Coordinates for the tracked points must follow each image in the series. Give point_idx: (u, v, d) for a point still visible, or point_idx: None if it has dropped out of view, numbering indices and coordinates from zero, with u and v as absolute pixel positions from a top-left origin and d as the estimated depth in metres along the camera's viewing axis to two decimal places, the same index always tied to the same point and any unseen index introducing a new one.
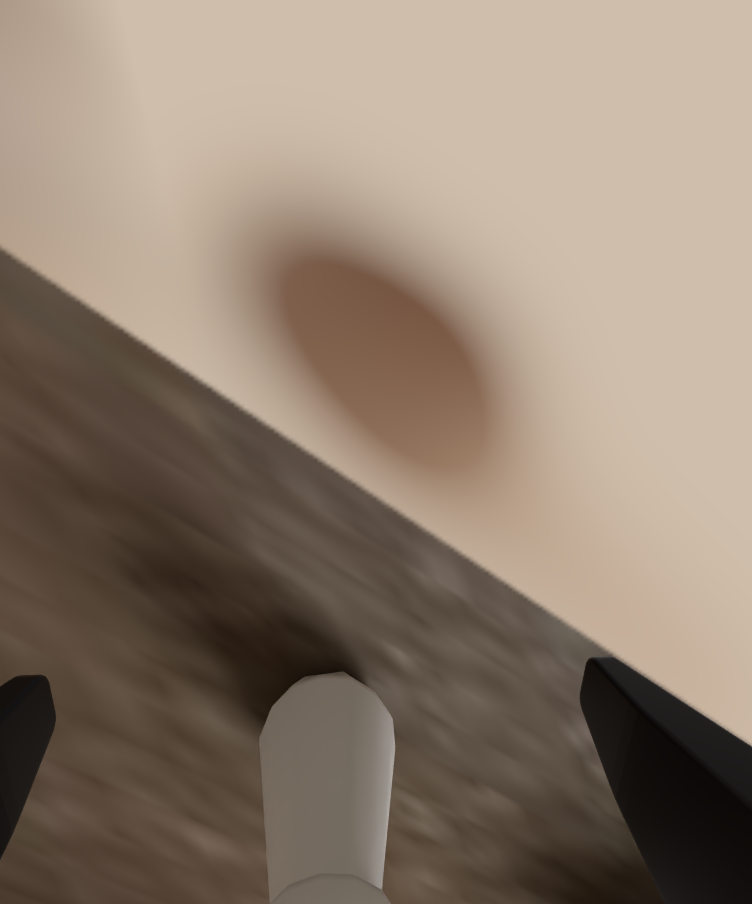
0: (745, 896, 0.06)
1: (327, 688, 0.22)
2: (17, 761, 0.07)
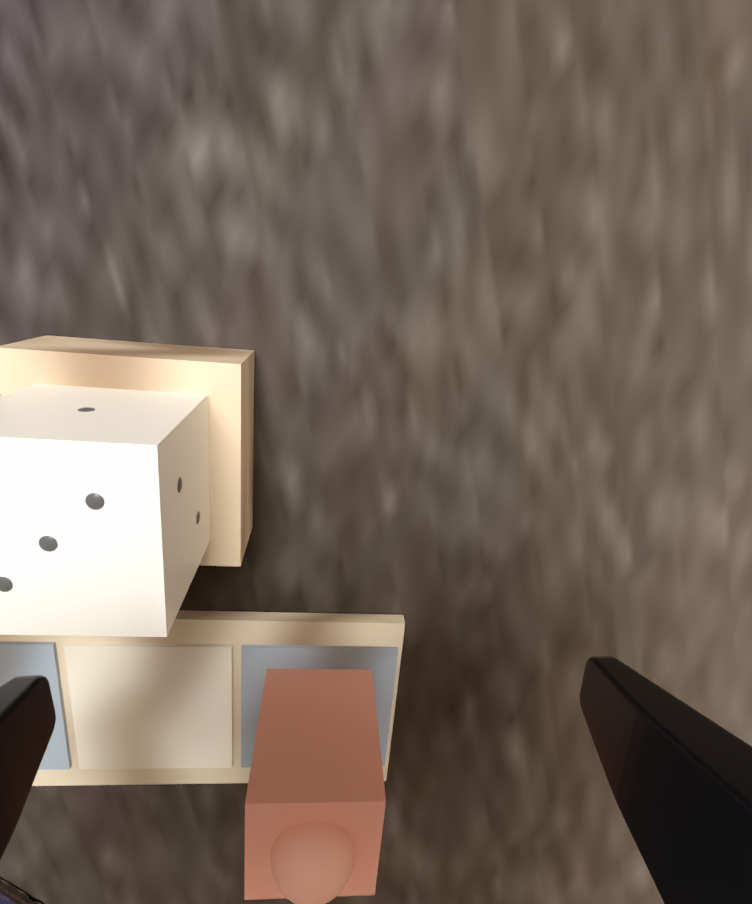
0: (745, 896, 0.06)
1: None
2: (17, 761, 0.07)
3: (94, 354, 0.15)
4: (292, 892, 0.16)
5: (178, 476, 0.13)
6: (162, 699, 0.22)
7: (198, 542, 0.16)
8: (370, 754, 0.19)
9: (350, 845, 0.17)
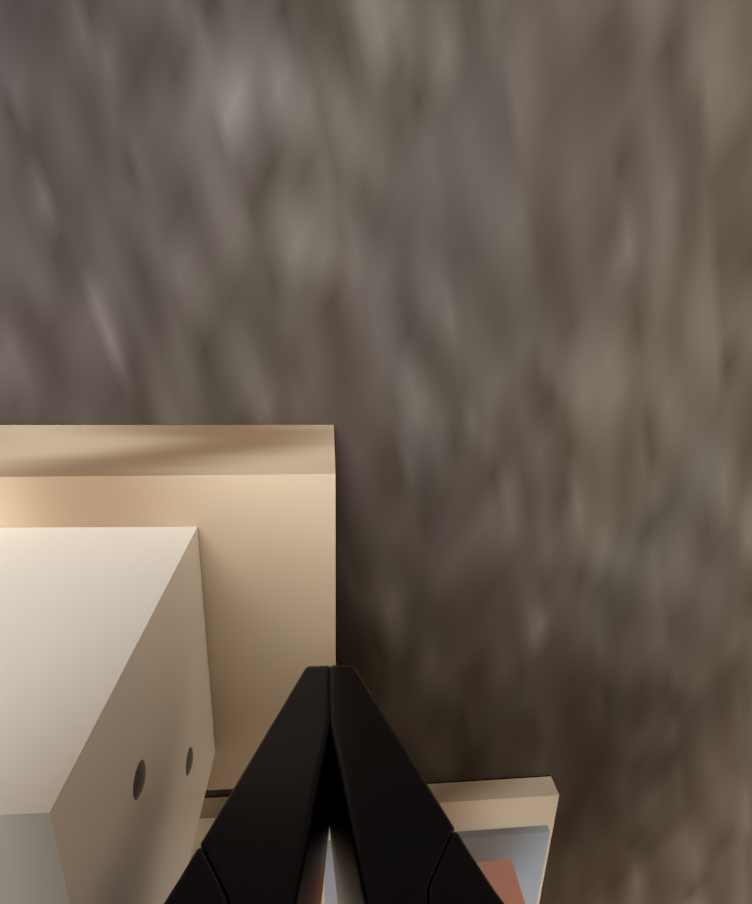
0: None
1: None
2: None
3: (72, 476, 0.08)
4: None
5: (134, 769, 0.06)
6: None
7: (192, 799, 0.09)
8: None
9: None
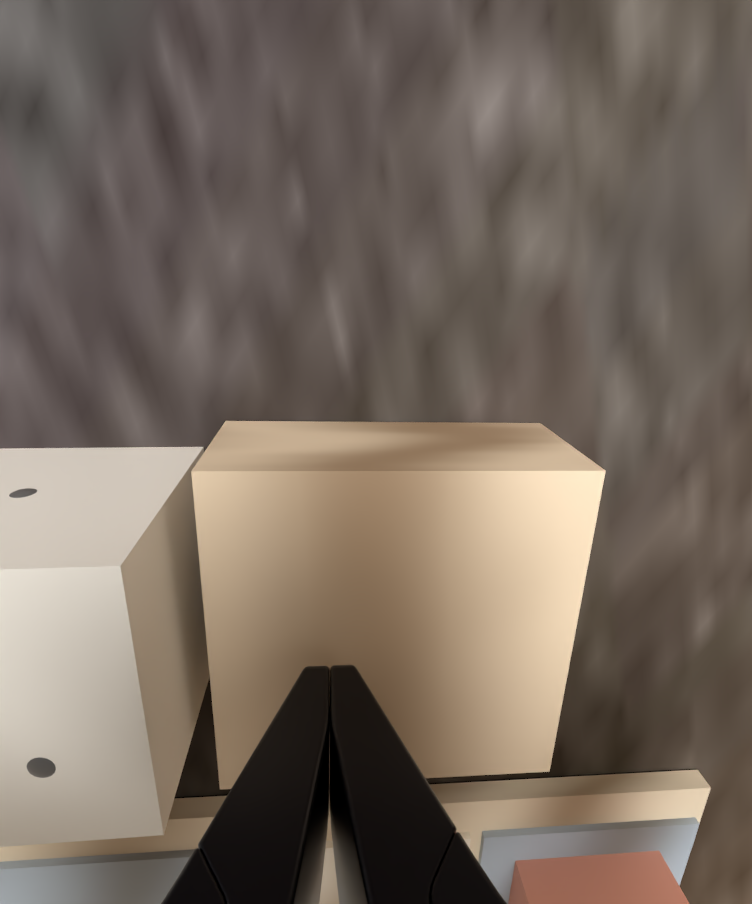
0: None
1: None
2: None
3: (361, 471, 0.09)
4: None
5: None
6: None
7: (50, 807, 0.08)
8: None
9: None
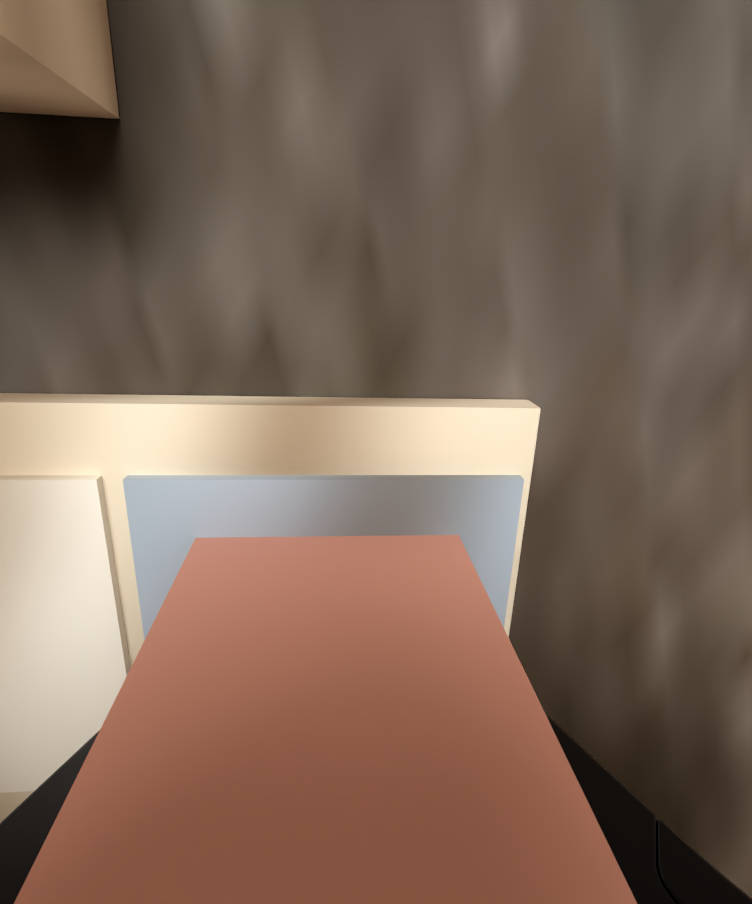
0: None
1: None
2: None
3: None
4: None
5: None
6: None
7: None
8: (518, 739, 0.05)
9: None
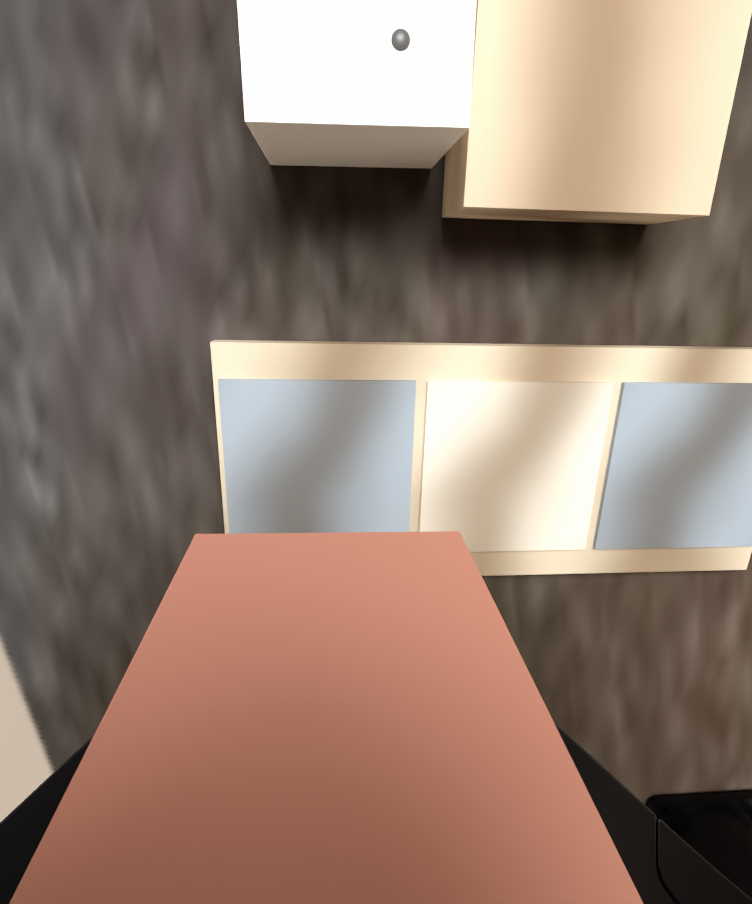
0: None
1: None
2: None
3: None
4: None
5: None
6: (524, 456, 0.19)
7: (399, 84, 0.11)
8: (521, 735, 0.05)
9: None
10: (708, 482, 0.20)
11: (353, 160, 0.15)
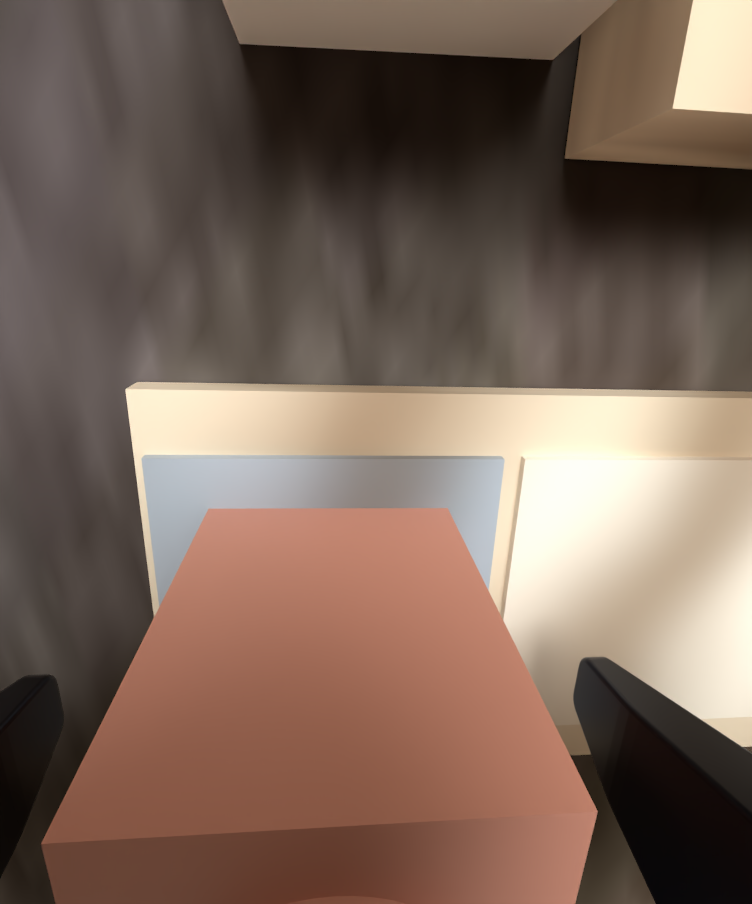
0: (734, 896, 0.06)
1: None
2: (26, 761, 0.07)
3: None
4: None
5: None
6: (678, 579, 0.11)
7: None
8: (491, 665, 0.06)
9: None
10: None
11: (410, 26, 0.07)
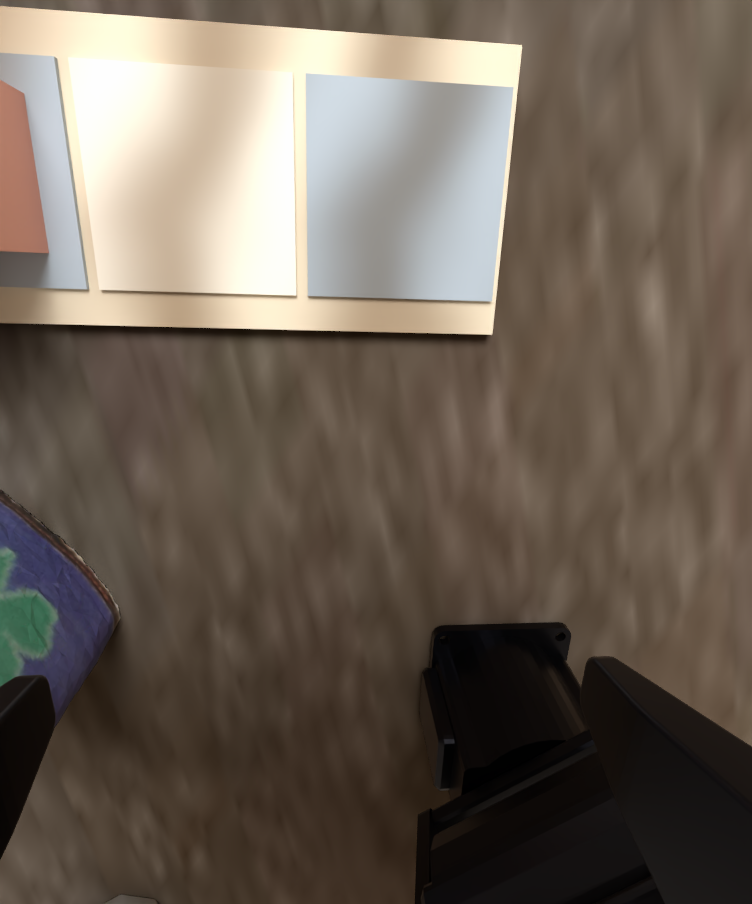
0: (745, 896, 0.06)
1: None
2: (17, 761, 0.07)
3: None
4: None
5: None
6: (203, 166, 0.17)
7: None
8: None
9: None
10: (426, 213, 0.18)
11: None
